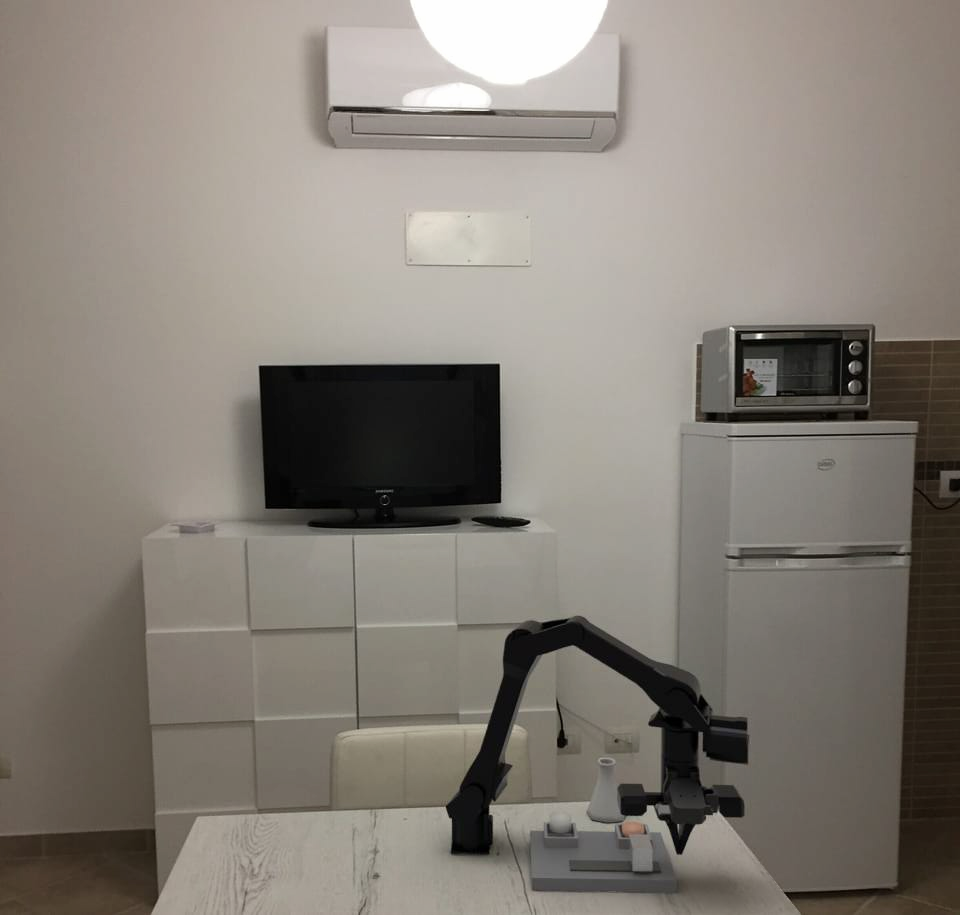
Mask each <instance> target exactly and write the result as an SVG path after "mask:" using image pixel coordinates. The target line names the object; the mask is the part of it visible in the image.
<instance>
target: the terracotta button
mask: <svg viewBox="0 0 960 915" xmlns="http://www.w3.org/2000/svg"><path fill="white" fill-rule="evenodd" d="M623 823H624V824H623V825H622V838H629V834H640V835H644V826H643V825H642V824H643V823H641V822H638V821H625V822H623Z"/></svg>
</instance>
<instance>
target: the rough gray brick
mask: <svg viewBox="0 0 960 915" xmlns="http://www.w3.org/2000/svg"><path fill="white" fill-rule="evenodd" d="M629 859H630V863H631V867H632V871H652V845H651V842H650V839H649V836H648V835H640V834H629Z"/></svg>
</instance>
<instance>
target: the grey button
mask: <svg viewBox="0 0 960 915" xmlns="http://www.w3.org/2000/svg"><path fill="white" fill-rule="evenodd" d="M549 822H550V830H551V831H553V832H556V833H566V832H569V831H570V830H571V823H572V815H571V814H570V813H569V812H568V811H562V810H559V811H558V810H556V811H553V812H551V813H550V814H549Z"/></svg>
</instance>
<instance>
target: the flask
mask: <svg viewBox="0 0 960 915" xmlns="http://www.w3.org/2000/svg"><path fill="white" fill-rule="evenodd" d="M616 762H617V761H616V760H615V759H614V758H611V757H600V758H598V760H597V764H598V765H599V766H598V767H599V768H598V775H597V776H598V777H597V780H596V781H597V782H596V785H595V788H594V790H593V793H592V795H591V798H590V800H589V803H588V807H587V809H586V814H587V815H588V816H589V818H590V820H592V821H597V822H602V823H606V824H607V823H618V822H623V821H624V819H625V817H626V816H624V815H622V814H621V813H620V809H619V805H618V801H617V787H618V785H617V781H616V776H615V765H616Z"/></svg>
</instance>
